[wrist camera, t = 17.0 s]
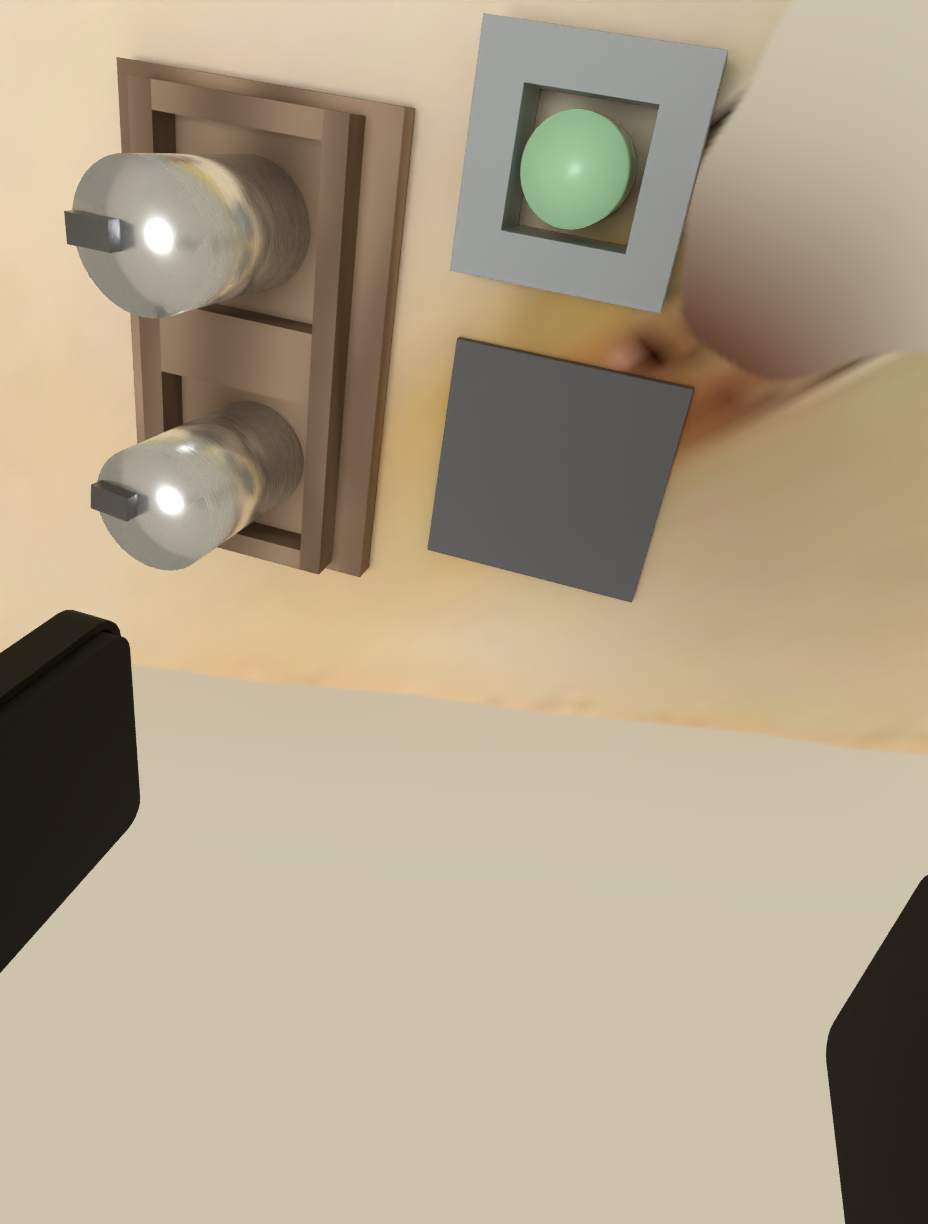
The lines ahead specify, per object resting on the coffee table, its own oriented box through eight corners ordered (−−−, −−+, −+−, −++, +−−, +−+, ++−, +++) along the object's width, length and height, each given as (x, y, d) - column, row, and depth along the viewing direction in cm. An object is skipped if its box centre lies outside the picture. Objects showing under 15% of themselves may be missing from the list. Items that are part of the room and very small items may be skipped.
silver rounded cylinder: (310, 421, 38) (207, 478, 30) (294, 518, 40) (195, 594, 33) (212, 386, 38) (87, 434, 31) (202, 484, 41) (85, 550, 34)
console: (727, 60, 29) (727, 50, 26) (664, 301, 33) (660, 313, 30) (503, 25, 30) (483, 13, 27) (470, 262, 34) (449, 270, 31)
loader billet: (313, 166, 33) (196, 167, 25) (307, 298, 35) (198, 334, 28) (198, 144, 34) (52, 139, 26) (199, 275, 36) (67, 305, 29)
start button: (647, 122, 30) (638, 118, 27) (623, 230, 32) (612, 238, 29) (551, 106, 31) (531, 100, 28) (532, 213, 33) (512, 219, 29)
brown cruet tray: (414, 108, 32) (390, 104, 30) (368, 567, 42) (347, 591, 40) (134, 60, 34) (90, 53, 31) (155, 510, 44) (122, 530, 42)
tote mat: (693, 387, 34) (693, 390, 34) (632, 598, 39) (631, 602, 39) (459, 337, 36) (457, 338, 35) (429, 546, 41) (427, 549, 40)
